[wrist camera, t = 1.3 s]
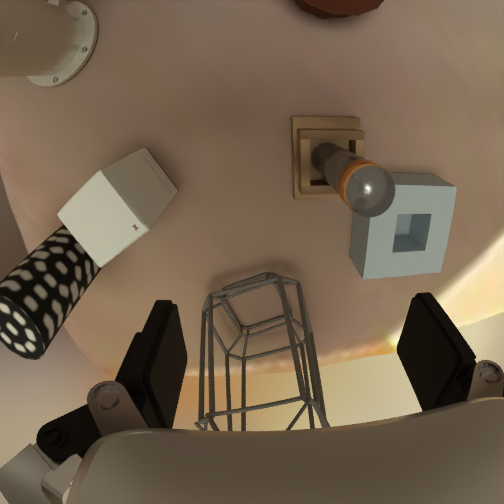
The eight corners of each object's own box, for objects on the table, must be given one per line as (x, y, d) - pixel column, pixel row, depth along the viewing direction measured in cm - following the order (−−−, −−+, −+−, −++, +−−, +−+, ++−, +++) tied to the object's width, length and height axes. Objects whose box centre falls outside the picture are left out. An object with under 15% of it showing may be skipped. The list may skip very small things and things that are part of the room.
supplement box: (145, 145, 34) (101, 166, 23) (180, 191, 37) (151, 232, 26) (104, 179, 36) (54, 214, 25) (137, 222, 39) (99, 271, 28)
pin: (310, 141, 33) (347, 165, 21) (344, 141, 33) (398, 166, 21) (310, 176, 35) (345, 219, 23) (344, 175, 35) (393, 217, 23)
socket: (355, 172, 36) (372, 184, 31) (432, 174, 36) (456, 186, 31) (349, 256, 42) (362, 279, 36) (421, 251, 42) (440, 271, 36)
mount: (290, 116, 33) (296, 117, 30) (355, 117, 33) (367, 119, 30) (293, 196, 38) (297, 207, 34) (354, 194, 38) (364, 204, 34)
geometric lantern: (294, 241, 41) (378, 532, 10) (318, 325, 48) (373, 542, 17) (185, 275, 43) (133, 545, 12) (226, 349, 50) (223, 562, 19)
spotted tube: (124, 245, 41) (56, 342, 23) (92, 275, 43) (29, 368, 25) (85, 202, 37) (-6, 278, 20) (56, 236, 40) (-23, 316, 22)
